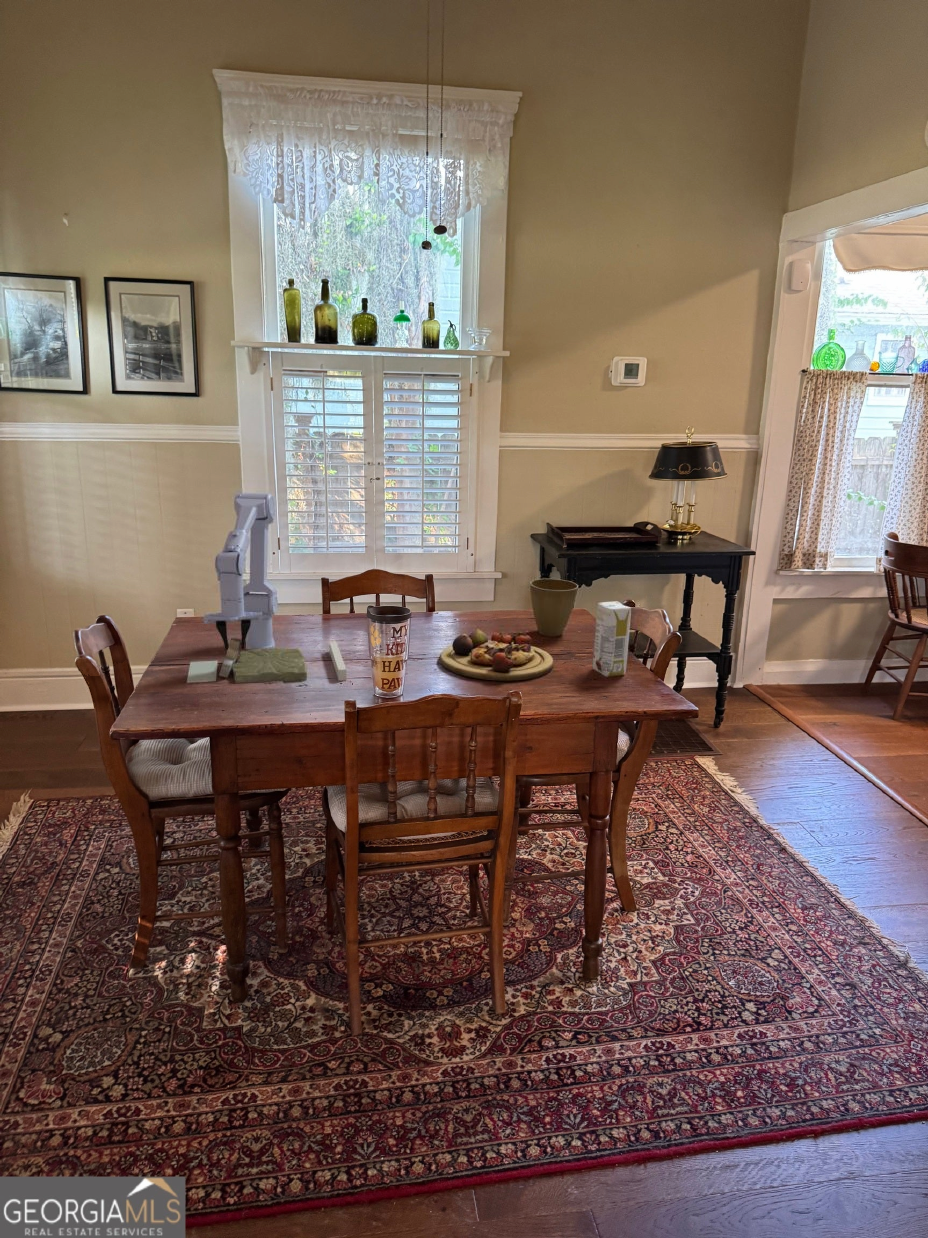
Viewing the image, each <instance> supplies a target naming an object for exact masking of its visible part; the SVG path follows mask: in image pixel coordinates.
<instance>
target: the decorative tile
mask: <svg viewBox="0 0 928 1238" xmlns="http://www.w3.org/2000/svg"><path fill="white" fill-rule="evenodd" d="M231 670H232V673H233V677H234V681H235V683H236V684H240V683H241V684H242V683H259V682H261V683H262V682H263V683H264V682H276V681H277V682H278V681H282V683H289V682H290V683H291V682H305V681H307V680H308V671H307V667H306V662H305V658H304V655H303V652H302V650H301V649H299V648H288V647H287V648H285V647H281V648H278V647H277V648H259V649H246V650H243V651H242V650H241V651H240V652H239V655H237V658H236V662H235V664H234V665H232V669H231Z"/></svg>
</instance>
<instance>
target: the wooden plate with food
mask: <svg viewBox="0 0 928 1238" xmlns="http://www.w3.org/2000/svg"><path fill="white" fill-rule="evenodd" d="M439 661H440V664H441V665H442V666H443V668H446V669H447V670H448V671H451V672H453V673H455V674H458V675H461V676H464V677H468V678H473V679H479V680H488V681H499V682H500V681H504V682H505V681H508V682H509V681H512V682H513V681H522V680H523V681H524V680H530V679H534V678H539V677H542V676H544V675H546V674H547V673H549V672H550V671H551V670H553V668H554V665H555V663H554V662H555V661H554V658H553V657H552V655H551V654H549V652H547V651H545V650H543V649H542V648H539V647H536V646H532V638H531V636H529V635H527V634H524V635H523V634H521V633H520V632H517V634H516V635H514V636H511V635H510V633H509V632H508V633H506V634H503V633H502V632H500V631H495V632H493V633H492V634H491V637H490V640H489V639H488V636H487V634H486V633H485V632H483V630H480V629H479V628H477V629H476V630H473V631H472V632H471V633H470V634H468V635H467V634H466V633H462V634H460V635H458V636H457V637H455V639H454V640H453V641H452V644H451V645H449V646H447V647H446V648H444V649H443V650H442V651H441V652H440V654H439Z"/></svg>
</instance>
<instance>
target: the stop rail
mask: <svg viewBox="0 0 928 1238" xmlns="http://www.w3.org/2000/svg"><path fill="white" fill-rule="evenodd" d="M328 644H329V650H328V651H329V654H330V655H329V656H330V658H331V661H332V664H333V667H334V670H335V671H334V672H335V674H336V677H337V680H338V682H339V681H341V682H343V681H347V667H346V665H345V661H344V659H343V656H342V654H341V651H340V649H339V645H338V642H337V641H329V643H328Z"/></svg>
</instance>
